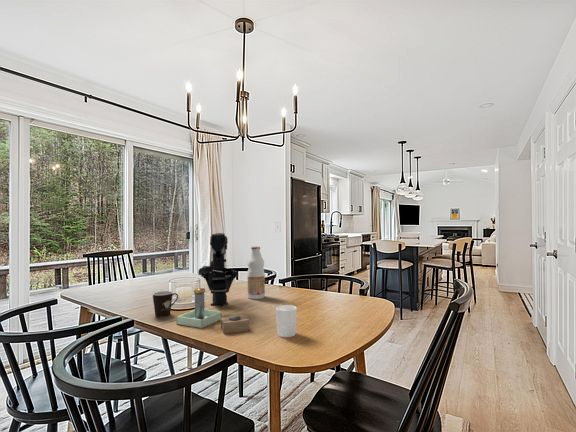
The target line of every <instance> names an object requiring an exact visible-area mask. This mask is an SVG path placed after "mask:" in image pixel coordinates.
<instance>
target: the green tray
mask: <svg viewBox="0 0 576 432" xmlns="http://www.w3.org/2000/svg"><path fill="white" fill-rule="evenodd" d="M222 314H223V312H222V311H220V310H212V309H205V318H204V319H202V320H201V319H195V309H193V310H191V311H188V312H185V313H183V314H180V315H177V316H176V325H182V326H188V327H193V328H200V329H203V328H205V327H208V326H209V325H212V324H214V323H216V322H218V321H221V318H223V317H222V316H223V315H222Z"/></svg>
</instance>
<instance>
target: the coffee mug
mask: <svg viewBox="0 0 576 432" xmlns="http://www.w3.org/2000/svg"><path fill="white" fill-rule="evenodd" d="M174 295H175V296H176V299H175V300H174V301H173V296H174ZM178 299H179V294H178V293H177V292H176V293H175V292H174V293H173V291H171V290H162V291H156V292H153V293H152V300H153V309H154V314H155V315H154V317H156V318H165V317H169V316H171V313H172V312H171V311H172V306H173V305H175V304H176V302H177V301H178Z"/></svg>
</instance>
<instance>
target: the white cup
mask: <svg viewBox="0 0 576 432" xmlns="http://www.w3.org/2000/svg"><path fill="white" fill-rule="evenodd" d="M297 309H298V308H297V307H296V305H291V304H282V305H278V306H276V307H275V318H276V328H277V336H279V337H281V338H292V337H294V336H296V333H297V332H296V330H297V314H298V312H297V311H298V310H297Z"/></svg>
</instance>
